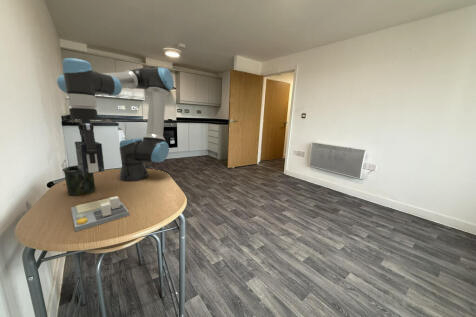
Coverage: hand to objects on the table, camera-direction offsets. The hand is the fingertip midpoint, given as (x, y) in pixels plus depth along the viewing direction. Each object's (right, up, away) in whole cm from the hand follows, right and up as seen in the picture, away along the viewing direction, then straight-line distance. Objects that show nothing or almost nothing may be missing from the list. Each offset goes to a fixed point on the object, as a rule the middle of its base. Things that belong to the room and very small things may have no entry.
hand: (91, 168), depth 69 cm
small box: (0, -1, 0) cm, 1 cm away
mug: (-18, -13, +18) cm, 29 cm away
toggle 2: (+8, -15, +1) cm, 17 cm away
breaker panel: (+3, -17, 0) cm, 17 cm away
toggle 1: (+9, -16, -4) cm, 18 cm away
